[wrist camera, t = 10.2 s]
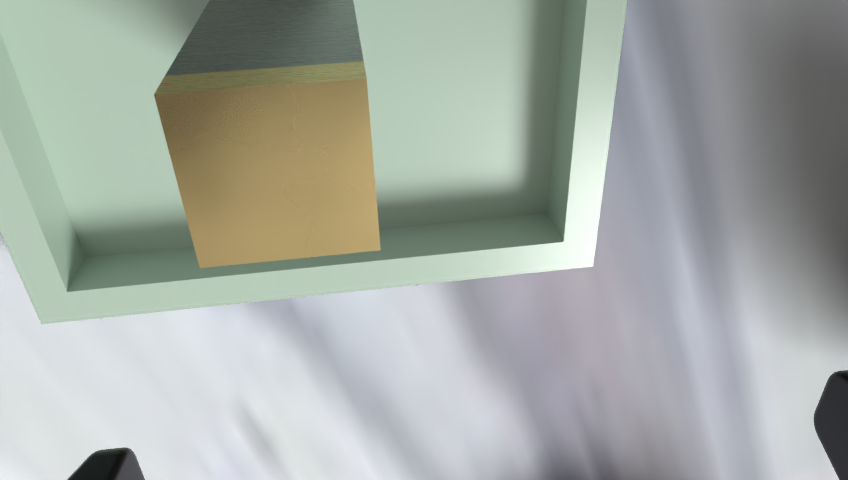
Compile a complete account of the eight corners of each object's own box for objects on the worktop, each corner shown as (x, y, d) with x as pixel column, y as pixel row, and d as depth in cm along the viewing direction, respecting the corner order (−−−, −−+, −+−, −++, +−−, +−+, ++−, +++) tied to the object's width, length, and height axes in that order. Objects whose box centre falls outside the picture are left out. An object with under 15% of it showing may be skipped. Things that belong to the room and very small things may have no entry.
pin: (348, -31, 16) (366, 78, 10) (358, 87, 18) (380, 250, 11) (223, -23, 16) (154, 94, 9) (245, 95, 18) (200, 268, 11)
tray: (621, -320, 15) (671, -342, 13) (567, 223, 22) (592, 266, 20) (-160, -303, 13) (-250, -324, 11) (69, 272, 21) (41, 324, 19)
